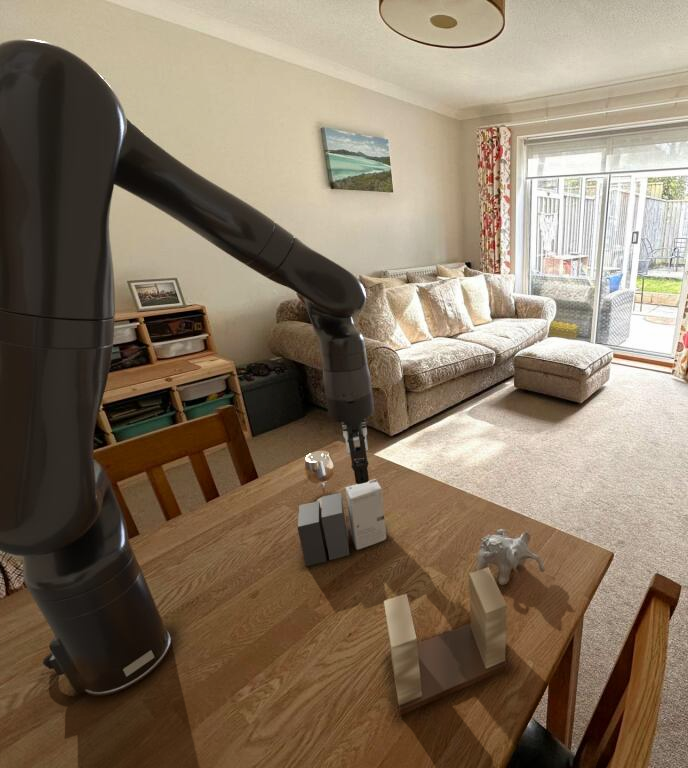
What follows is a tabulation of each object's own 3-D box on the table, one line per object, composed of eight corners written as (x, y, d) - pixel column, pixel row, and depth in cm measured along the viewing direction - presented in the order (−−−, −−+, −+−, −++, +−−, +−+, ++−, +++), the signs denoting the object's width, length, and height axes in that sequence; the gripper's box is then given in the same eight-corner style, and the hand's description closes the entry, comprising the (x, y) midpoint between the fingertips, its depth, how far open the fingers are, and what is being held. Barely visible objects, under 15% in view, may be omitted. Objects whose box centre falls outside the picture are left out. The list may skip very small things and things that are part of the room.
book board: (400, 715, 52) (391, 651, 48) (391, 658, 59) (383, 597, 54) (506, 669, 58) (508, 608, 53) (487, 622, 65) (487, 564, 60)
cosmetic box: (356, 551, 78) (348, 499, 73) (351, 537, 81) (343, 487, 77) (388, 539, 81) (382, 489, 77) (381, 525, 85) (375, 477, 80)
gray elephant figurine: (481, 550, 79) (480, 519, 76) (542, 553, 78) (544, 522, 76) (474, 590, 70) (474, 556, 67) (543, 594, 70) (545, 560, 67)
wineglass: (345, 499, 92) (337, 454, 88) (322, 513, 88) (313, 466, 83) (329, 490, 95) (321, 446, 91) (306, 504, 90) (297, 458, 86)
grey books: (306, 566, 74) (296, 523, 70) (307, 543, 80) (298, 501, 76) (349, 554, 77) (342, 512, 73) (347, 532, 82) (341, 492, 79)
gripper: (324, 378, 74) (337, 454, 80) (325, 410, 62) (340, 496, 68) (367, 373, 77) (377, 447, 83) (376, 402, 64) (386, 486, 71)
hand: (360, 469), depth 75 cm, fingers open, 8 cm apart
